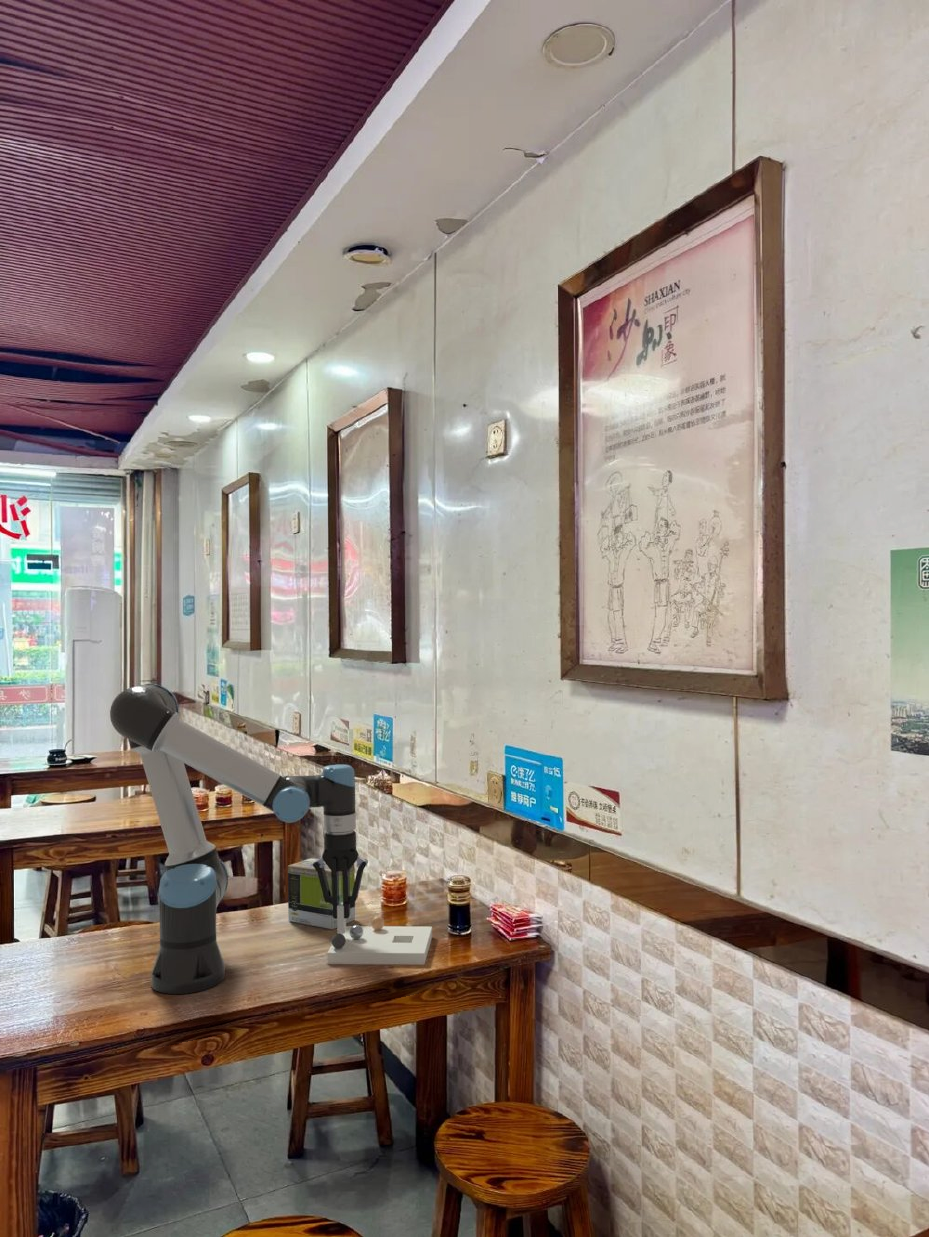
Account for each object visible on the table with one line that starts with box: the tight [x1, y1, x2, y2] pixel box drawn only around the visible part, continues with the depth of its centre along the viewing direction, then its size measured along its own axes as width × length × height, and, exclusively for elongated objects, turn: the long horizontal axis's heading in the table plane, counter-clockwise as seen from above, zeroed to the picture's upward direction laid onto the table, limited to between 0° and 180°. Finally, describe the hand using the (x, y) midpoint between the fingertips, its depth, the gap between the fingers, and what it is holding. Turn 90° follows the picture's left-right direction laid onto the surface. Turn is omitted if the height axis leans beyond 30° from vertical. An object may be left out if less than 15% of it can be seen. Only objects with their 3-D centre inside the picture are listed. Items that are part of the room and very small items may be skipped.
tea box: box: [287, 857, 356, 930], centre depth 224 cm, size 15×10×15 cm
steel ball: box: [350, 924, 363, 939], centre depth 203 cm, size 3×3×3 cm
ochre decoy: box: [370, 915, 385, 930], centre depth 209 cm, size 3×3×3 cm
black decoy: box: [331, 933, 346, 948], centre depth 197 cm, size 3×3×3 cm
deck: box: [326, 925, 433, 966], centre depth 202 cm, size 22×18×2 cm
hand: (341, 931), depth 203 cm, fingers closed
